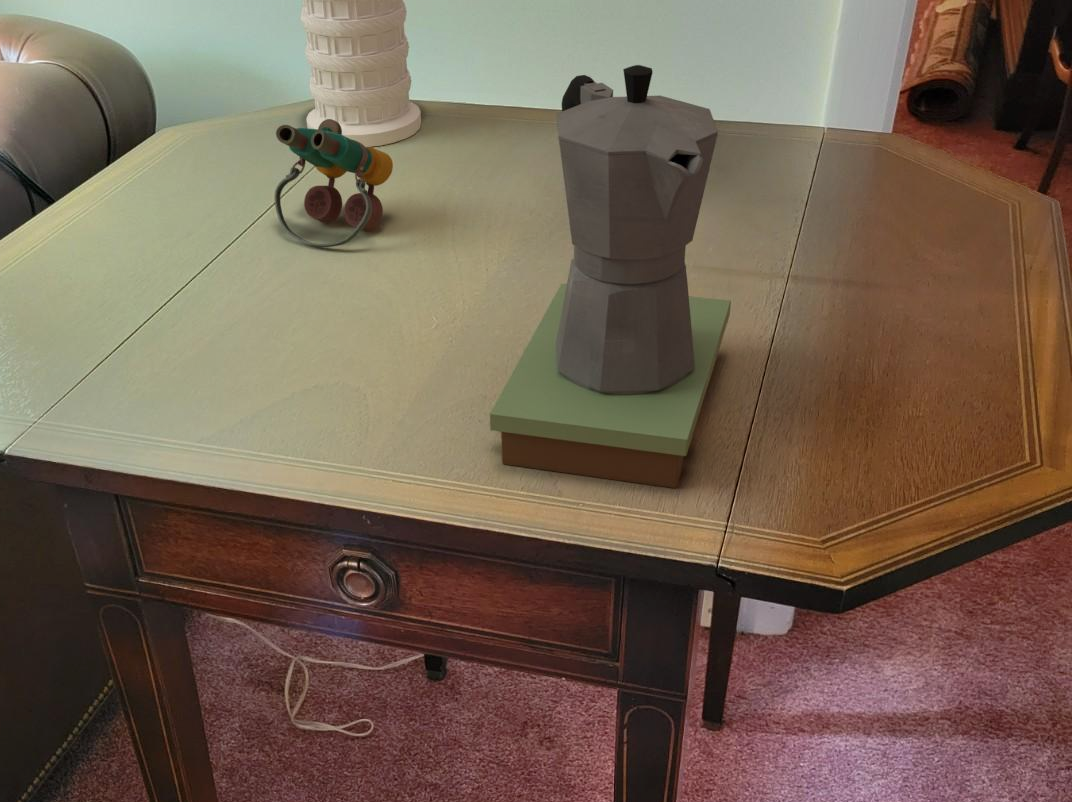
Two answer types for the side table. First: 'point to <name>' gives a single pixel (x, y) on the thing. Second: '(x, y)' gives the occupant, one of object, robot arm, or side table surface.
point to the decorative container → (360, 69)
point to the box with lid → (604, 410)
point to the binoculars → (335, 176)
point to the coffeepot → (629, 233)
